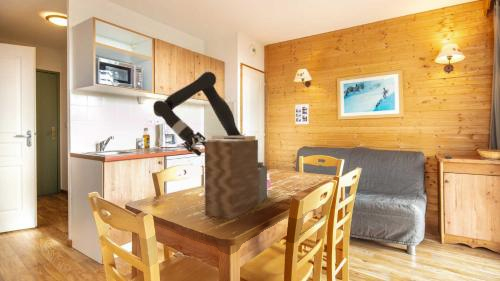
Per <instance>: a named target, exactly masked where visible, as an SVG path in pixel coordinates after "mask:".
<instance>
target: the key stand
mask: <svg viewBox="0 0 500 281" xmlns="http://www.w3.org/2000/svg"><path fill="white" fill-rule="evenodd" d="M206 140H207V141H206ZM206 140H205V147H204V188H205V195H204V206H205V207H204V214H205V215H206V216H207V215H208V216H211V217H212V216H213V217H218V218H223V219H229V220H234V219H236V218H238V217H239V216H242V215H243V214H244V213H246V212H248V211H249V210H252V209H253V208H254V207H256V206H258V205H259V204H258V162H259V139H255V140H252V141H245V140H243V138H226V137H225V138H224V139H214V140H212V139H206Z"/></svg>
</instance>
